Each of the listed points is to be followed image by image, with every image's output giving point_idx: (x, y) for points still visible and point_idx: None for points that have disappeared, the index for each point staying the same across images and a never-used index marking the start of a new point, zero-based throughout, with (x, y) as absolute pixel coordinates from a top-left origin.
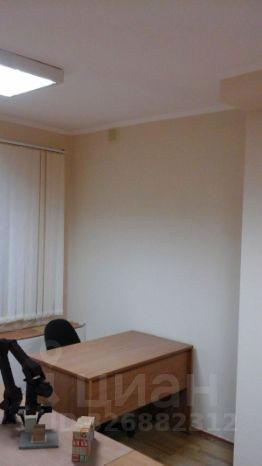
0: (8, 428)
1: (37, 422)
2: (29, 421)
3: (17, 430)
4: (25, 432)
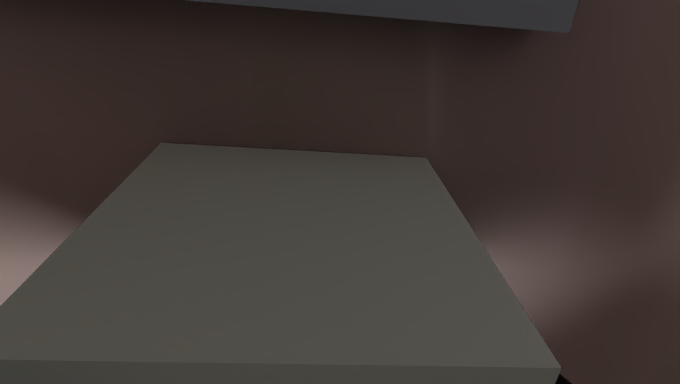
0: (677, 332)
1: None
2: (333, 333)
3: (550, 246)
4: (439, 3)
